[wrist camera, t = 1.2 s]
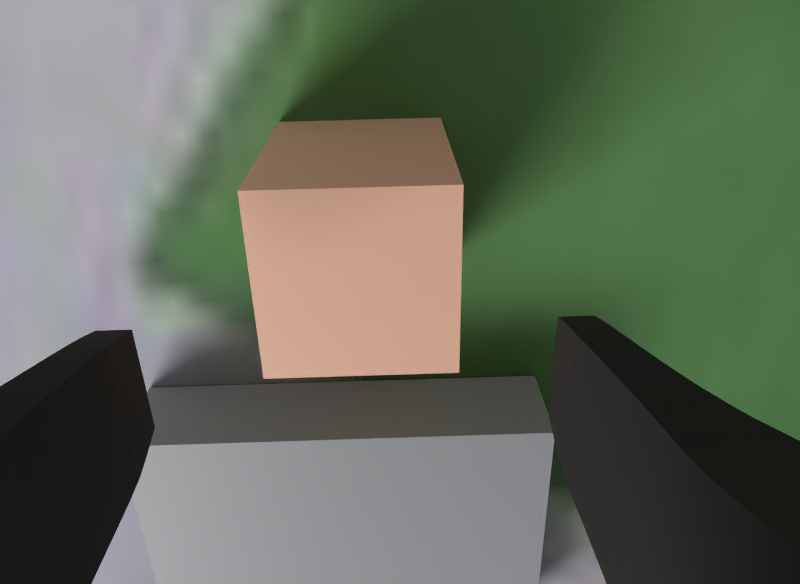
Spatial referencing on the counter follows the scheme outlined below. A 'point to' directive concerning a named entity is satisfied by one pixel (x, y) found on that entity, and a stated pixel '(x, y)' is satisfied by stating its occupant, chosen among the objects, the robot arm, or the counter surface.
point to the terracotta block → (355, 248)
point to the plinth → (347, 482)
